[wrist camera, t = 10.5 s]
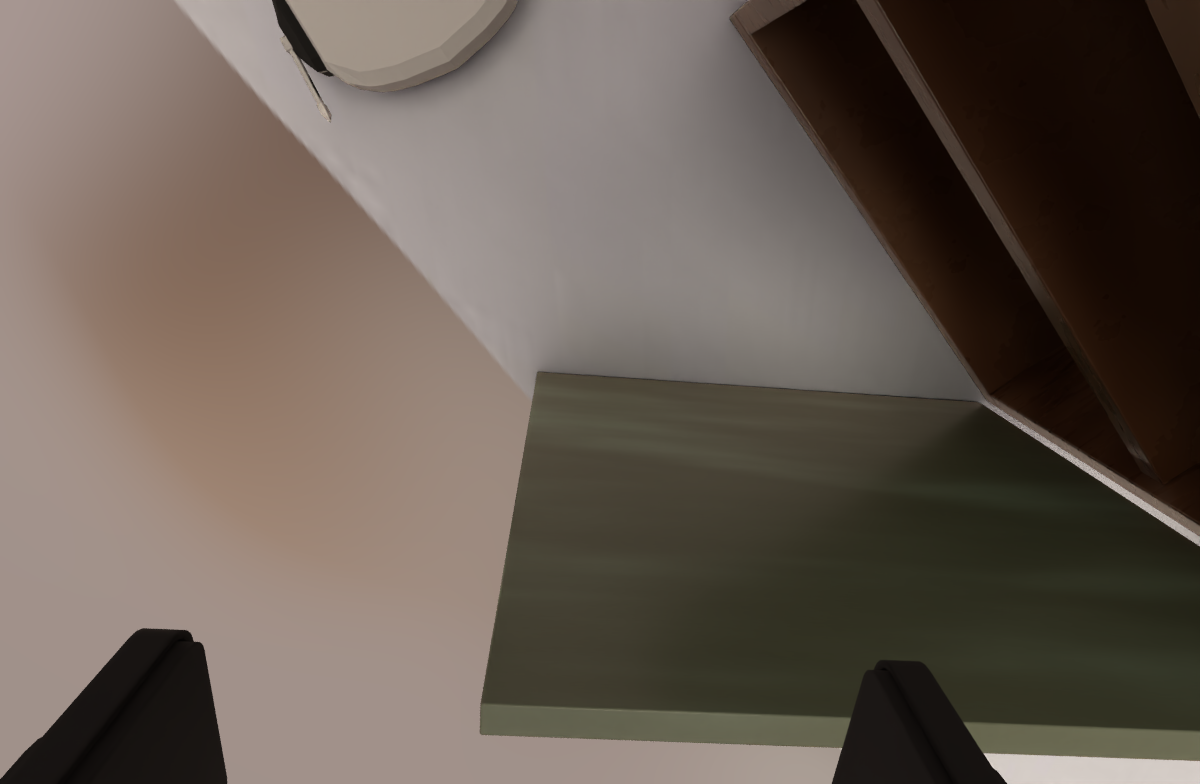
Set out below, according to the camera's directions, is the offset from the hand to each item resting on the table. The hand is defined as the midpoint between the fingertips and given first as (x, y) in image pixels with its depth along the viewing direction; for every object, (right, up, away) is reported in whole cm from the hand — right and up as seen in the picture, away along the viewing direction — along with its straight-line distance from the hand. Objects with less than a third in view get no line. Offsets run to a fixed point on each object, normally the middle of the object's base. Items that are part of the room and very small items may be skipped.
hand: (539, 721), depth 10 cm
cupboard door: (+10, +2, +31) cm, 32 cm away
